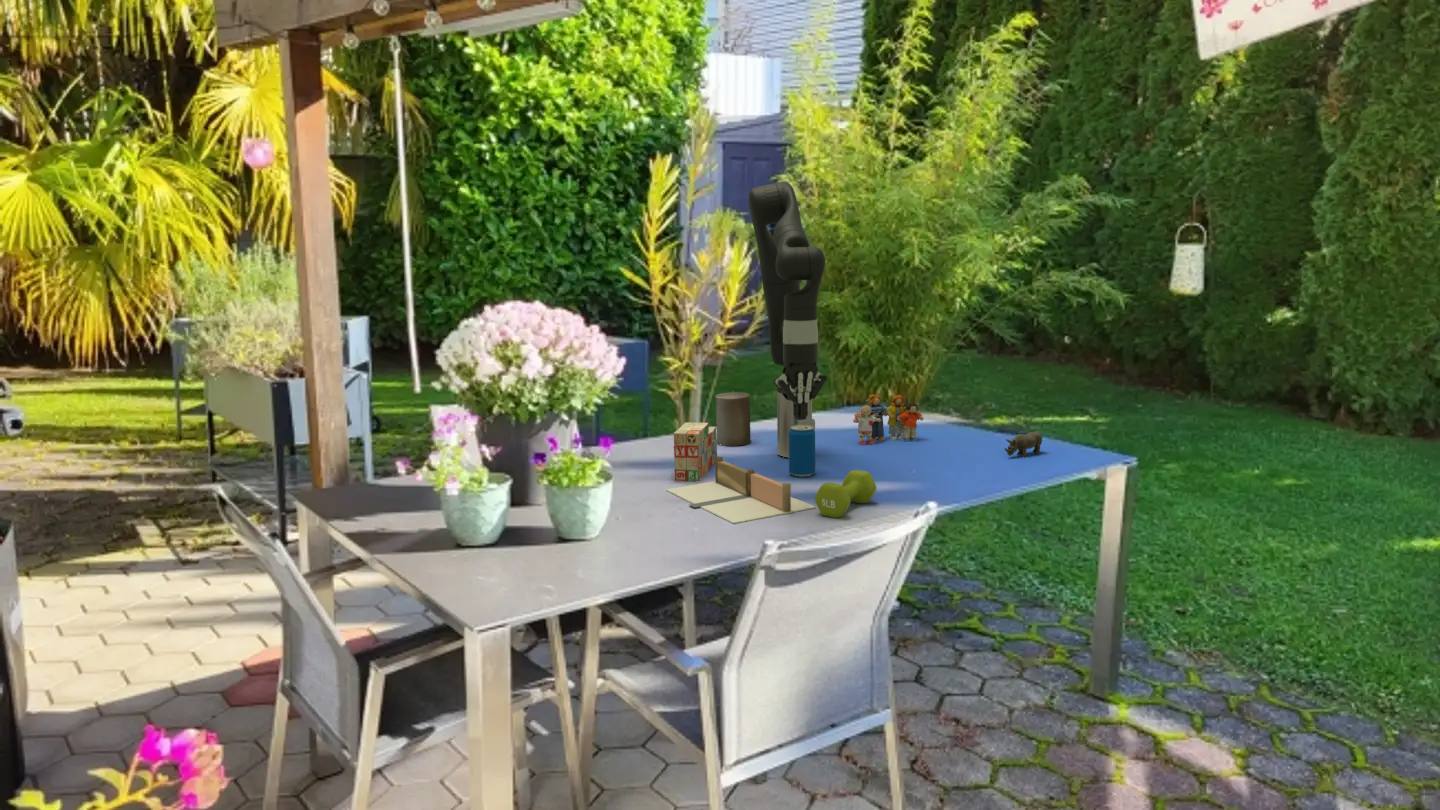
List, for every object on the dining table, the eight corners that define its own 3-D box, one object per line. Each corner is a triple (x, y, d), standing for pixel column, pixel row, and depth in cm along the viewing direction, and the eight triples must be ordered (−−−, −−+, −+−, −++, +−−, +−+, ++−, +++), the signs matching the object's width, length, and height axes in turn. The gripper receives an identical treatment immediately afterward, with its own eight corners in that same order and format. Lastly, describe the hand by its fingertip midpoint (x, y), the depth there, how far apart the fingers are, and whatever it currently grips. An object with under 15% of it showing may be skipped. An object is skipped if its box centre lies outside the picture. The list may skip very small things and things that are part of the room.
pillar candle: (757, 441, 292) (756, 389, 289) (739, 447, 284) (738, 394, 281) (728, 437, 297) (726, 386, 294) (709, 444, 289) (708, 392, 286)
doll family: (854, 446, 284) (854, 399, 281) (842, 439, 293) (842, 393, 290) (925, 440, 289) (926, 394, 286) (911, 434, 298) (912, 389, 295)
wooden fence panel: (720, 480, 249) (720, 456, 248) (756, 495, 235) (756, 470, 234) (714, 481, 248) (713, 457, 247) (749, 496, 235) (749, 471, 233)
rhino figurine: (997, 458, 268) (998, 435, 267) (1033, 450, 275) (1034, 428, 274) (1009, 461, 265) (1010, 438, 264) (1046, 453, 272) (1047, 431, 271)
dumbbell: (844, 521, 217) (844, 488, 215) (811, 515, 221) (811, 483, 220) (879, 502, 230) (879, 471, 229) (847, 497, 234) (847, 466, 233)
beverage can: (818, 472, 256) (818, 425, 254) (809, 479, 250) (809, 430, 248) (794, 470, 259) (794, 423, 257) (785, 476, 253) (784, 428, 251)
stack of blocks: (694, 460, 272) (693, 414, 269) (717, 461, 270) (716, 415, 268) (674, 481, 251) (673, 432, 249) (699, 482, 250) (698, 432, 247)
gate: (757, 495, 235) (756, 470, 234) (792, 510, 223) (792, 484, 222) (750, 496, 234) (750, 471, 233) (785, 511, 222) (785, 485, 221)
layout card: (742, 477, 252) (742, 476, 252) (815, 508, 226) (815, 506, 226) (660, 491, 241) (660, 490, 241) (726, 525, 215) (726, 523, 215)
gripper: (815, 336, 228) (815, 413, 231) (765, 341, 222) (765, 419, 225) (835, 340, 222) (835, 418, 225) (784, 344, 215) (784, 425, 218)
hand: (800, 419), depth 225 cm, fingers closed
